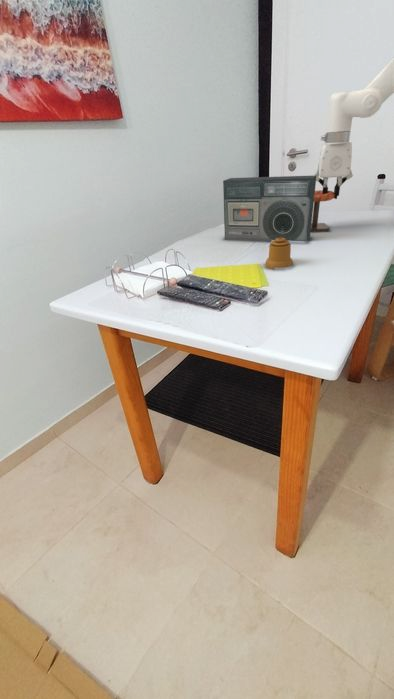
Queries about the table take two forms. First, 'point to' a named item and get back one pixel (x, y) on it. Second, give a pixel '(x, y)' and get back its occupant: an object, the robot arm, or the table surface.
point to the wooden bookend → (315, 225)
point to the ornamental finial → (279, 254)
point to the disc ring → (323, 196)
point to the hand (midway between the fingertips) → (330, 198)
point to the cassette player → (268, 208)
